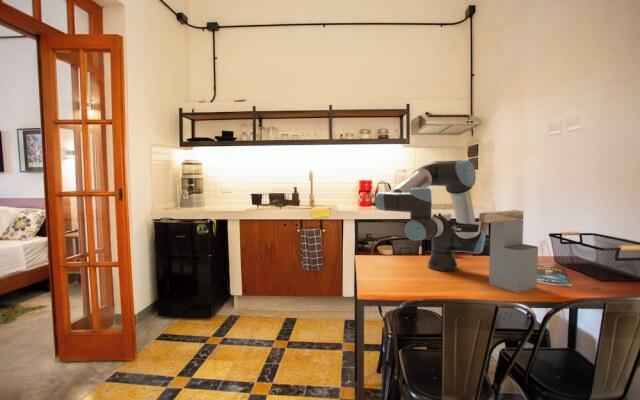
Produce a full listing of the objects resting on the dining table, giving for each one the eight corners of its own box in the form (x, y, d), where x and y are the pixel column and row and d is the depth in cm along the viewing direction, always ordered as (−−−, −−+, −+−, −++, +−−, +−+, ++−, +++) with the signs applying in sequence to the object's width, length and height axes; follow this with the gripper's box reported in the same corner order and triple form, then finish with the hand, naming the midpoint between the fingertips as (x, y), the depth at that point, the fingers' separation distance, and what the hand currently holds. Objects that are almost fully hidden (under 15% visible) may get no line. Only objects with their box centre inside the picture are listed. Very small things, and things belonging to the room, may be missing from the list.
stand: (488, 283, 153) (490, 220, 150) (507, 279, 159) (509, 218, 157) (517, 292, 141) (520, 223, 138) (536, 287, 147) (539, 221, 145)
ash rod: (479, 222, 145) (479, 213, 144) (514, 218, 157) (515, 210, 156) (487, 223, 141) (487, 214, 141) (523, 219, 153) (523, 210, 153)
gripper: (467, 225, 118) (495, 219, 131) (411, 210, 137) (440, 206, 150) (464, 245, 120) (492, 237, 132) (409, 227, 139) (437, 221, 152)
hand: (464, 220), depth 141 cm, fingers open, 13 cm apart
